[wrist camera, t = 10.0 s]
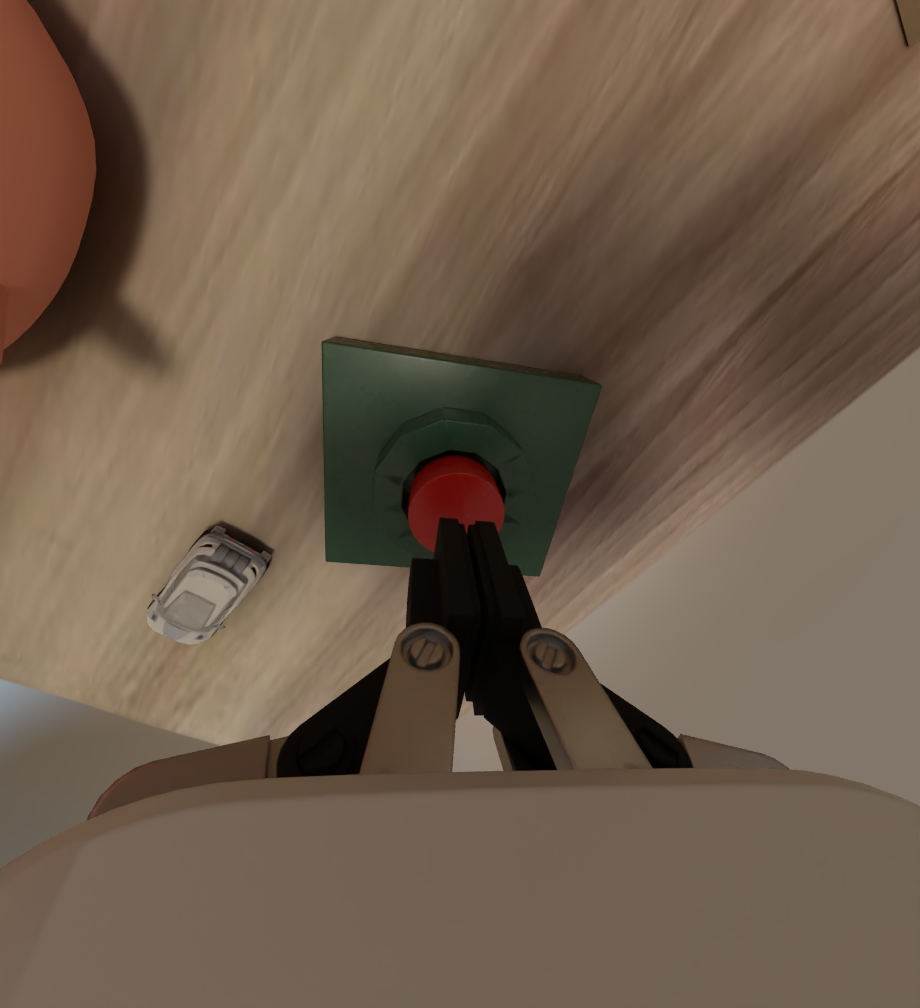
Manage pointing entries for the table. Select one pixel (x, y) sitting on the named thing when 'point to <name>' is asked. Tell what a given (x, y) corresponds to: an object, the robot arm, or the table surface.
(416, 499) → the red button
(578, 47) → the table surface
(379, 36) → the table surface
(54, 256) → the teapot
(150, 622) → the toy car
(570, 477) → the button box
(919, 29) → the control panel
